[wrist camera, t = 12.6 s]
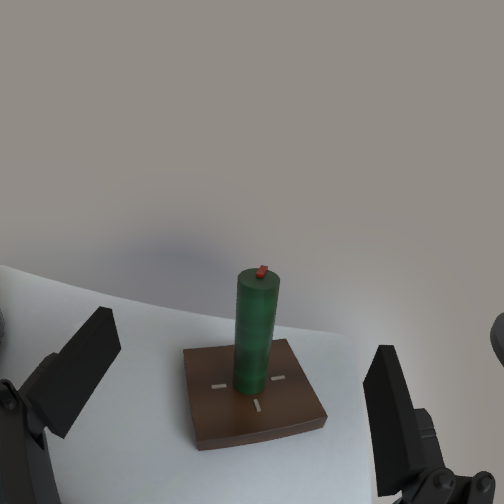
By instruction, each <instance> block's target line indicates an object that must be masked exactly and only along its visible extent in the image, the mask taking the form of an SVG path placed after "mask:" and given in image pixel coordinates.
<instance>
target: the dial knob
mask: <svg viewBox="0 0 504 504" xmlns="http://www.w3.org/2000/svg"><path fill="white" fill-rule="evenodd" d="M279 285H280V278H279V277H278V275H277V274H275V273H274V272H272V271H269V270H268V267H267V266H261V267H260V268H259V269H257V268H254V269H248V270H244V271H242V272H241V273H240V274H239V275H238V283H237V303H236V323H235V344H234V367H233V385H234V387H235V389H236V390H237V391H239V392H241V393H243V394H247V395H253V394H257V393H259V392H261V391H262V390H263V389H264V387H265V383H266V377H267V370H268V364H269V357H270V350H271V343H272V336H273V329H274V322H275V315H276V307H277V300H278V293H279Z"/></svg>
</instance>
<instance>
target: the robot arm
mask: <svg viewBox="0 0 504 504" xmlns="http://www.w3.org/2000/svg"><path fill="white" fill-rule="evenodd" d="M120 350H121V345H120V341H119V337H118V333H117V329H116V325H115V321H114V317H113V312H112V309H110V308H105V307H101V306H100V307H99V308H98V309H97V310H96V311H95V312H94V313H93V314H92V315H91V317H90V318H89V319H88V320H87V321H86V322H85V323H84V324H83V326H82V327H81V328H80V329H79V330H78V331H77V332H76V334H75V335H74V336H73V337H72V338H71V339H70V340H69V342H68V343H67V344H66V345H65V346H64V347H63V349H62V350H61V351H60V352H59V353H58V354H57V353H54V352H53V353H52V354H50V355H49V356H47V357H45V358H44V360H43V361H42V362H41V363H40V364H39V366H38V367H37V368H36V369H35V370H34V372H33V373H32V374H31V375H30V376H29V378H28V379H27V380H26V381H25V382H24V384H23V385H22V386H21V387H20V389H19V390H18V391H17V390H16V389H15V387H14V386H13V384H12V383H11V381H9V380H7V379H1V380H0V504H6V503H7V504H61V501H60V497H59V494H58V490H57V486H56V482H55V478H54V474H53V470H52V465H51V461H50V456H49V451H48V445H47V439H46V434H45V431H44V428H45V426H47V427H48V429H49V430H50V431H51V433H53V434H55V435H57V436H59V437H61V438H63V439H64V438H65V436H66V435H67V433H68V431H69V430H70V428H71V426H72V425H73V423H74V421H75V420H76V418H77V417H78V415H79V413H80V412H81V410H82V409H83V407H84V405H85V404H86V402H87V401H88V399H89V398H90V396H91V394H92V393H93V391H94V390H95V388H96V387H97V385H98V384H99V382H100V380H101V379H102V377H103V376H104V374H105V373H106V371H107V370H108V368H109V367H110V365H111V364H112V362H113V361H114V359H115V358H116V356H117V355H118V353H119V352H120ZM363 388H364V393H365V399H366V405H367V412H368V417H369V425H370V431H371V438H372V446H373V453H374V463H375V472H376V481H377V492H378V497H382V496H389V495H395V494H397V493H398V492H399V491H400V490H401V491H402V497H400V498H399V499H398V500H396V501H395V502H394V503H393V504H493V498H494V492H495V479H494V477H493V476H492V474H491V473H489V472H486V471H481V472H479V473H477V474H476V475H475V476H473V477H465V476H457V475H454V473H453V472H452V471H451V470H450V469H448V468H446V467H445V465H444V461H443V457H442V453H441V450H440V446H439V442H438V439H437V437H436V432H435V429H434V425H433V422H432V418H431V416H430V415H429V414H428V412H427V411H426V410H425V409H424V408H422V409H414V408H413V405H412V401H411V399H410V395H409V391H408V388H407V385H406V381H405V378H404V375H403V372H402V369H401V366H400V363H399V360H398V357H397V354H396V351H395V348H394V346H393V345H379V347H378V349H377V352H376V354H375V356H374V359H373V361H372V364H371V366H370V368H369V370H368V373H367V375H366V377H365V380H364V382H363Z"/></svg>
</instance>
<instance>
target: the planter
mask: <svg viewBox="0 0 504 504" xmlns="http://www.w3.org/2000/svg"><path fill="white" fill-rule="evenodd" d="M4 329H5V322H4V317H3V314H2V311H1V309H0V343H1V341H2V338H3V335H4Z"/></svg>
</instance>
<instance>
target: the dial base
mask: <svg viewBox="0 0 504 504" xmlns="http://www.w3.org/2000/svg"><path fill="white" fill-rule="evenodd" d="M183 353H184V362H185V370H186V378H187V385H188V392H189V399H190V406H191V412H192V418H193V424H194V430H195V436H196V442H197V447H198V451H201V450H211V449H219V448H227V447H234V446H240V445H246V444H252V443H258V442H263V441H268V440H273V439H278V438H282V437H287V436H291V435H295V434H299V433H303V432H307V431H311V430H315V429H318V428H322V427H323V426H324V424H325V422H326V419H327V417H328V416H327V414H326V412H325V410H324V409H323V407H322V405H321V403H320V401H319V399H318V397H317V396H316V394H315V392H314V390H313V388H312V386H311V385H310V383H309V381H308V379H307V377H306V375H305V373H304V372H303V370H302V368H301V366H300V364H299V362H298V360H297V359H296V357H295V355H294V353H293V351H292V349H291V347H290V345H289V344H288V342H287V340H286V339H279V340H272V343H271V350H270V357H269V364H268V370H267V377H266V383H265V387H264V389H263V390H262V391H261V392H259V393H257V394H253V395H247V394H243V393H241V392H239V391H237V390H236V389H235V387H234V385H233V367H234V345H228V346H218V347H207V348H195V349H183Z"/></svg>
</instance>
